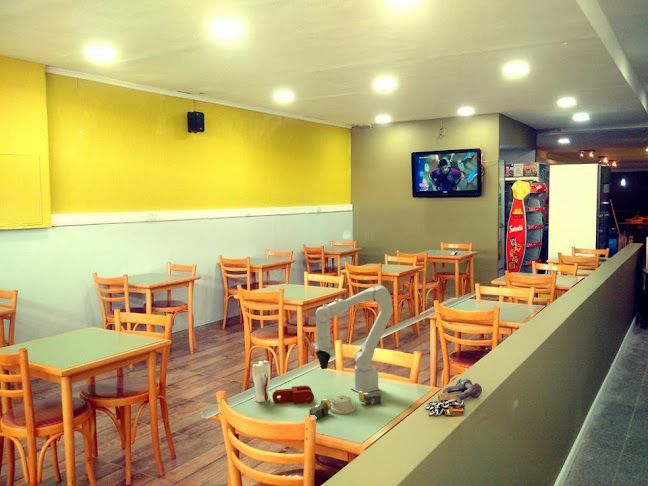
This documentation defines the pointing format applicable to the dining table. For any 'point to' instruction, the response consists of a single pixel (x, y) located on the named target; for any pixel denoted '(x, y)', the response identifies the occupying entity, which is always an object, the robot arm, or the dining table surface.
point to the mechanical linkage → (294, 395)
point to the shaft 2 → (370, 398)
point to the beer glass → (261, 380)
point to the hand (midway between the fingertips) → (324, 368)
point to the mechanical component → (342, 405)
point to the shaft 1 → (321, 409)
